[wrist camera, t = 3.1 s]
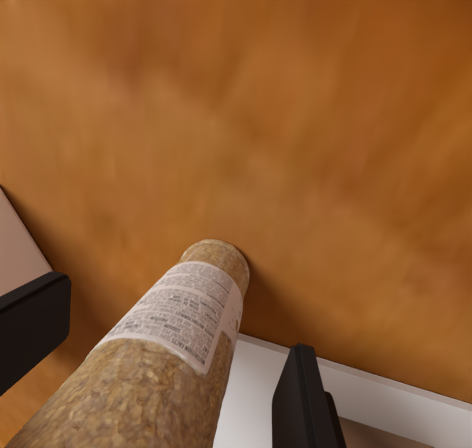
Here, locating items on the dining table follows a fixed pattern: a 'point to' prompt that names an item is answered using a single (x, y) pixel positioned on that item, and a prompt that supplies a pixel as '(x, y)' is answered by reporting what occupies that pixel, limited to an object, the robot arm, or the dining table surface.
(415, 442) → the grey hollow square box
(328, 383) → the white rectangular board
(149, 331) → the sprinkles bottle
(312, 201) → the dining table surface
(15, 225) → the medicine bottle
